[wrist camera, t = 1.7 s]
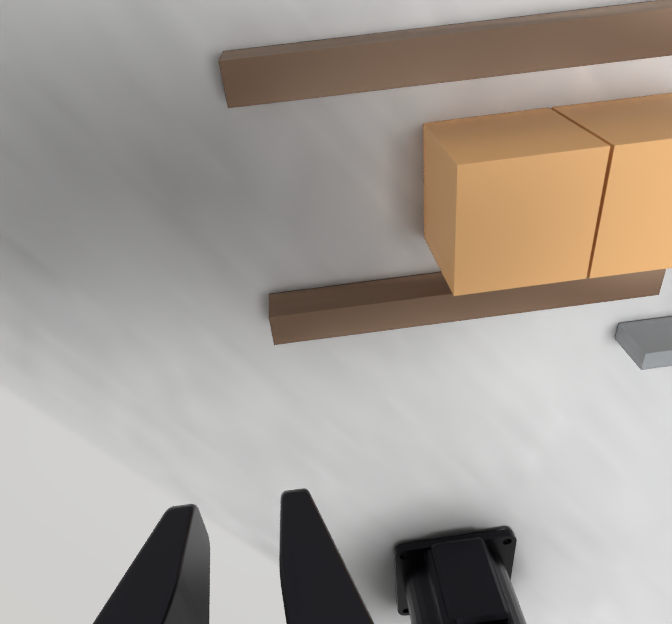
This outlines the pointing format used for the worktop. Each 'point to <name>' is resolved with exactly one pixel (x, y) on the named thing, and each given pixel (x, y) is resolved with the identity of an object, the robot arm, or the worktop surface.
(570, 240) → the block
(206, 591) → the robot arm
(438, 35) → the slot guide
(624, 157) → the block
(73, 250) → the worktop surface
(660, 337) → the tray
